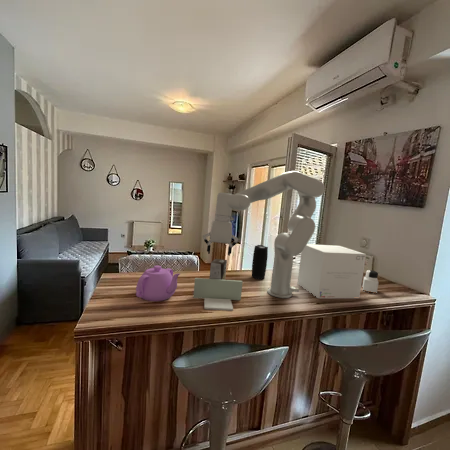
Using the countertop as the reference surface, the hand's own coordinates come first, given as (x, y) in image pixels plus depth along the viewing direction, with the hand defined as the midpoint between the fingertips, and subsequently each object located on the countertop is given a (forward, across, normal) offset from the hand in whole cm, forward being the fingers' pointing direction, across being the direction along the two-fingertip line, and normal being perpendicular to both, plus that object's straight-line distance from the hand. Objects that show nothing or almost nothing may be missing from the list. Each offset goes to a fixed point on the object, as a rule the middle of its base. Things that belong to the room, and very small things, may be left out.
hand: (218, 254), depth 127 cm
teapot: (+20, +25, +9) cm, 33 cm away
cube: (+19, -64, -13) cm, 68 cm away
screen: (+19, -1, +7) cm, 21 cm away
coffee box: (+20, -1, 0) cm, 20 cm away
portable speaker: (+19, -28, -29) cm, 45 cm away
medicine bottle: (+18, -92, -17) cm, 95 cm away
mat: (+20, -1, +14) cm, 24 cm away
